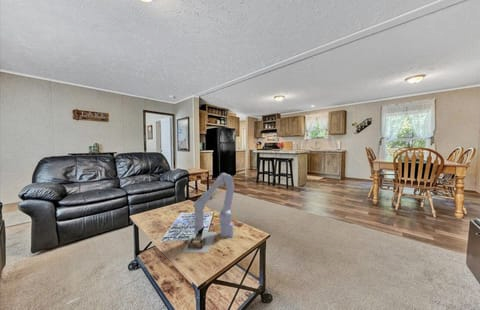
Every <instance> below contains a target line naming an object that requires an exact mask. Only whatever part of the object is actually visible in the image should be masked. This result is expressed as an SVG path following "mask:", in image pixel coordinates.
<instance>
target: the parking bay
mask: <svg viewBox="0 0 480 310" xmlns="http://www.w3.org/2000/svg"><path fill="white" fill-rule="evenodd" d="M193 240H194V238H192V239H191V241H190V242H189V244H188V248H195V249H202V248H203V246H204V244H205V238H204V239H203V241H202V242H201V244H198V243H193Z"/></svg>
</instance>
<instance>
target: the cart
mask: <svg viewBox="0 0 480 310" xmlns="http://www.w3.org/2000/svg"><path fill="white" fill-rule="evenodd" d="M202 241H203V240H202V237H201V234H196V237H195V239H194V240H193V243H198V244H201V242H202Z"/></svg>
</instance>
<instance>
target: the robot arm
mask: <svg viewBox="0 0 480 310" xmlns="http://www.w3.org/2000/svg"><path fill="white" fill-rule="evenodd" d="M223 185H225V186H226V191H225V196H224V200H223V206H222V209H221V211H220V213H218V214H219V215H218V218H219V221H220V222H219V223H220V225H219V227H220V228H219V231H220V233H219V234H220V237H224V238H226V237H229V238H230V239H233V237H234V233H235V231H234V230H235V229H234V228H235V227H234V223H233V222H232V220H233V219H232V211H231V208H232V202H233V198H234V191H235V182H234V177H233V176H232V175H231V174H228V173H226V172H221V173H220V174H219V175H218V176H217V177H216V180H214V182H213V183H212V184H211V186H210V187H209V189H207V190H206V191H204V192H202V193H201V195H200V197H199V198H197V200H195V201H194V202H193V204H192V205H193V208H194V224H193V225H192V227H193V228H194V230H193V234H201V237H202V233H203V232H204V229H205V221H204V209H205V205H206V204H207V203H208V201H210V199H211V198H212V195H213V193H214V192H215V191H216V190H217V189H218V187H219V186H223Z"/></svg>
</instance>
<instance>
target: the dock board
mask: <svg viewBox="0 0 480 310" xmlns="http://www.w3.org/2000/svg"><path fill="white" fill-rule="evenodd" d="M216 234H217V231H203V233H202V240H203V239H204V238H205V244H204V246H203V248H202V249H195V248H188V244H189V242H190V241H191V239H192V238H194V239H195V237H196V234H194V233H192V236H191V237H190V239H189V240H188V241H187V243H186V244H185V247H184V248H183V249H182V251H181V252H182V253H209V251H210V250H211V247H212V244H213V243H214V242H213V241H214V239H215V237H216Z"/></svg>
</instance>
